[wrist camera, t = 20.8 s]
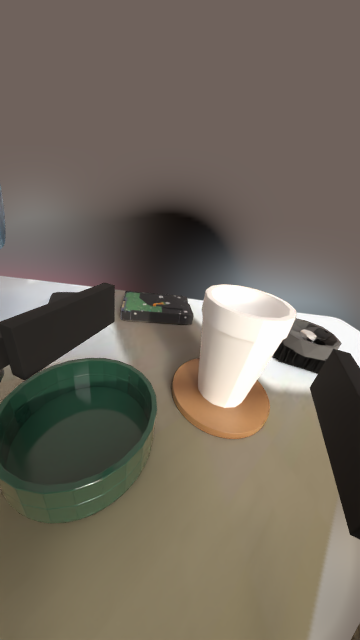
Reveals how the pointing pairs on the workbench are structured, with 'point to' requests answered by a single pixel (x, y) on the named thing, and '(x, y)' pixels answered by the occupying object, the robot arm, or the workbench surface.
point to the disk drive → (156, 308)
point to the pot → (75, 438)
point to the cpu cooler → (307, 346)
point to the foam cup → (238, 340)
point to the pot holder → (213, 417)
